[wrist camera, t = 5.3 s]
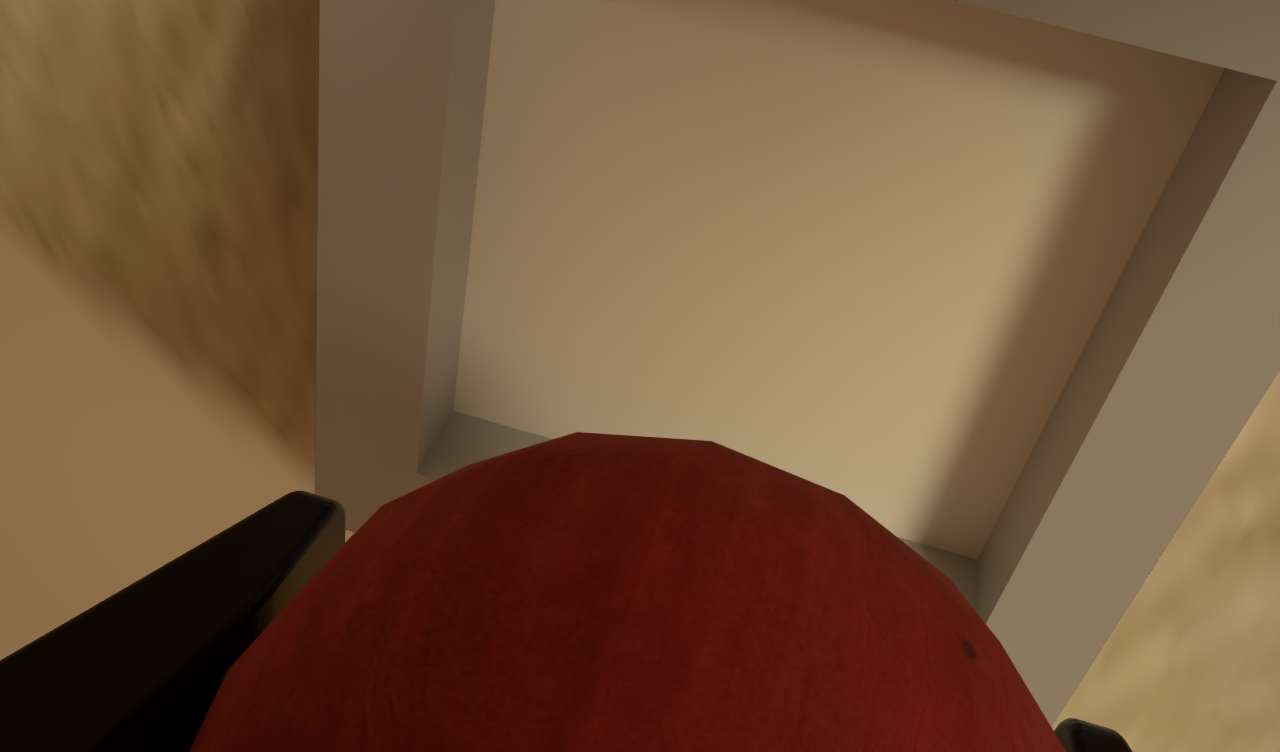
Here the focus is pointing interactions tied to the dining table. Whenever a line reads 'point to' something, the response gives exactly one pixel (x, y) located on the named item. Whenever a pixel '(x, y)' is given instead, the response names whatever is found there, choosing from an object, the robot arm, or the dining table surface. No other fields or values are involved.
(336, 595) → the onion
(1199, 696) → the dining table surface
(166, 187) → the dining table surface
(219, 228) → the dining table surface
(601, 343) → the display pedestal
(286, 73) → the dining table surface
